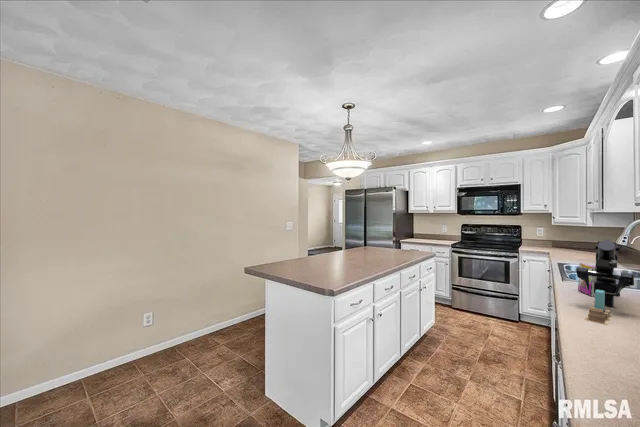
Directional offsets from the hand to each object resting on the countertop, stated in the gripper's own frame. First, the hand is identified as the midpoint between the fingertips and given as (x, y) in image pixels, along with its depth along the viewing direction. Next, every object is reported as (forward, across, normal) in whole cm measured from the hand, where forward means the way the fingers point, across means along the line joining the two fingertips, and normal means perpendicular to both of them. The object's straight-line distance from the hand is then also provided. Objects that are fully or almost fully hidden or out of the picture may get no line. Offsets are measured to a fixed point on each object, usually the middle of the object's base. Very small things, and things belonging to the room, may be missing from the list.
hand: (601, 291), depth 129 cm
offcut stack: (+16, 0, -2) cm, 16 cm away
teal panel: (+11, 0, +3) cm, 11 cm away
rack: (+13, 0, +3) cm, 13 cm away
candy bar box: (-20, -9, +38) cm, 44 cm away
